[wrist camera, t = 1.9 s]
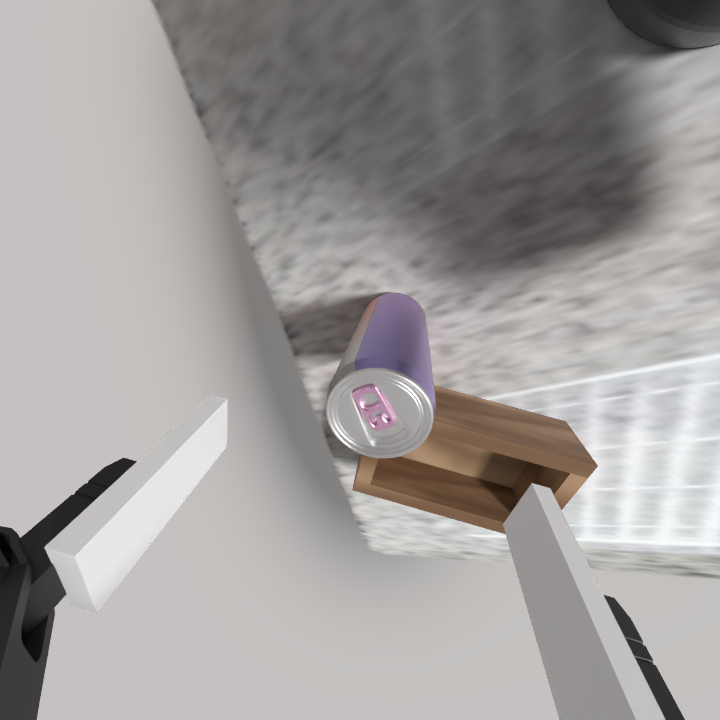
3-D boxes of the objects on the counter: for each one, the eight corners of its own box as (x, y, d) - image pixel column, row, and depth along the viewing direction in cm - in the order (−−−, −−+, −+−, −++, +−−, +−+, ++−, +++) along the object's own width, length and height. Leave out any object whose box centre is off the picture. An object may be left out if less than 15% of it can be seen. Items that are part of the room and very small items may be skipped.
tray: (384, 372, 32) (378, 405, 26) (566, 421, 31) (597, 466, 26) (361, 449, 37) (352, 489, 31) (516, 493, 36) (534, 542, 31)
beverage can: (410, 279, 27) (408, 348, 14) (435, 336, 29) (454, 445, 16) (352, 307, 29) (301, 390, 16) (379, 359, 31) (354, 472, 18)
